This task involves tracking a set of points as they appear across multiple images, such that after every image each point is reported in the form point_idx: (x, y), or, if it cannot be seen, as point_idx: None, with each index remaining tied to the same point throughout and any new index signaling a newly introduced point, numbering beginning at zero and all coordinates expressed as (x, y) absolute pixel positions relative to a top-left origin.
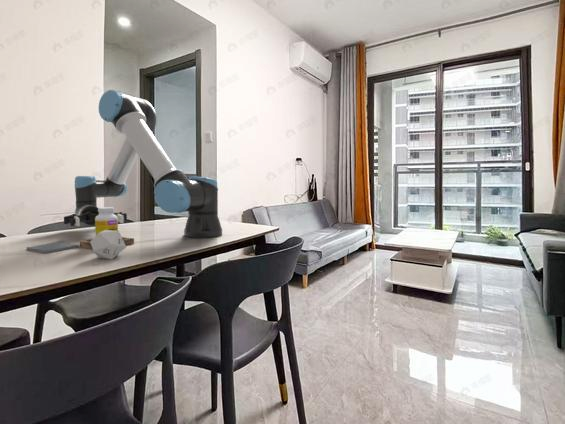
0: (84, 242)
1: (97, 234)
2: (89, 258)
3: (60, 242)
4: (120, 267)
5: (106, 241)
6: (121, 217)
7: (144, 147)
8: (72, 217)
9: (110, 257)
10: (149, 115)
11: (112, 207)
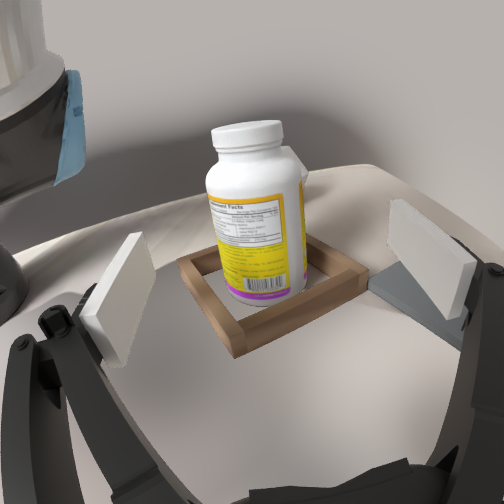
0: (345, 258)
1: (291, 149)
2: (313, 206)
3: (462, 333)
4: None
5: None
6: (144, 243)
7: None
8: (484, 267)
9: None
10: None
11: (217, 128)
